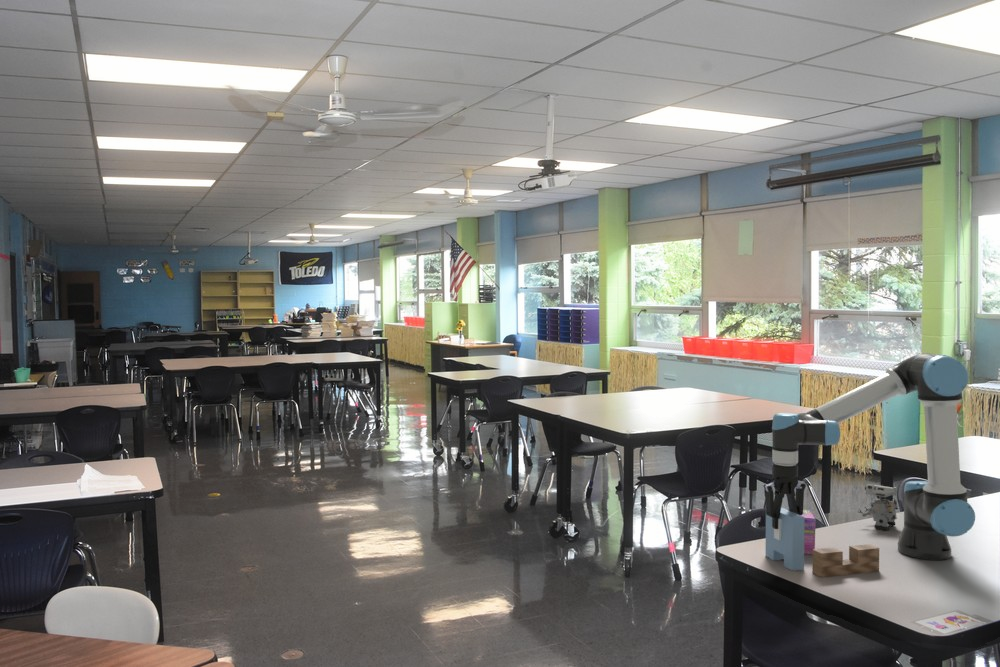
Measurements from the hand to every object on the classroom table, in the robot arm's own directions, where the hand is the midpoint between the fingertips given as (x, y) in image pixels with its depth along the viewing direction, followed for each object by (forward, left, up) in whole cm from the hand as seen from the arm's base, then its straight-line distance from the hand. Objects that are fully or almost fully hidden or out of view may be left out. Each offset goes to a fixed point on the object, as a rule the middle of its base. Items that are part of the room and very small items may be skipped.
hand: (784, 538), depth 237 cm
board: (0, 0, -8) cm, 8 cm away
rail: (-17, +4, -8) cm, 19 cm away
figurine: (-36, -51, -8) cm, 63 cm away
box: (-7, -16, -8) cm, 19 cm away
